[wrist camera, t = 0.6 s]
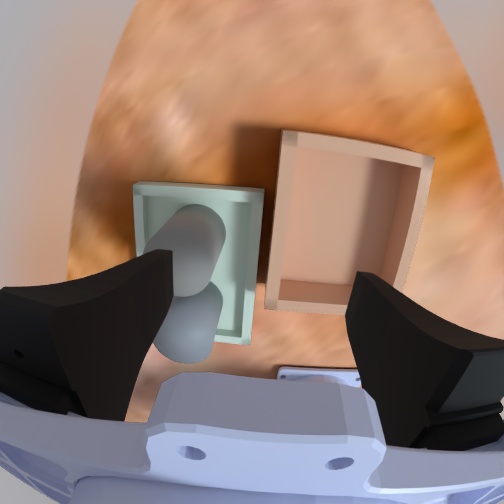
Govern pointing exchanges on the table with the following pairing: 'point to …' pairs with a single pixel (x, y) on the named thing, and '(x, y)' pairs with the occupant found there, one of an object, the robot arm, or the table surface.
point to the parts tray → (234, 249)
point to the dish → (341, 218)
